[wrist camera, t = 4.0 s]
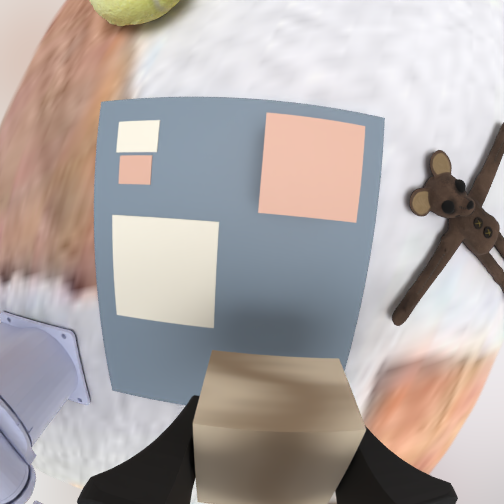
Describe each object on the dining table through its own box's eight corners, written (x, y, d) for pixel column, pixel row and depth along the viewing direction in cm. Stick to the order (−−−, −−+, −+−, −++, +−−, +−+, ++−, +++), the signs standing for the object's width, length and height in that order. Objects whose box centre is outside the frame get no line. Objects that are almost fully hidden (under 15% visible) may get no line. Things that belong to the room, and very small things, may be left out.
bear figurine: (471, 381, 19) (361, 312, 16) (447, 354, 23) (338, 282, 20) (571, 206, 15) (498, 73, 12) (540, 197, 19) (461, 81, 16)
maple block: (210, 434, 14) (197, 501, 10) (212, 349, 13) (192, 423, 8) (314, 440, 14) (325, 506, 10) (338, 358, 13) (366, 430, 8)
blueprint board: (115, 386, 22) (112, 391, 22) (105, 103, 17) (100, 101, 16) (329, 410, 22) (331, 415, 22) (381, 119, 17) (385, 117, 16)
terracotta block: (258, 203, 18) (257, 212, 14) (265, 127, 17) (266, 112, 12) (334, 211, 18) (356, 222, 14) (341, 137, 17) (365, 126, 12)
